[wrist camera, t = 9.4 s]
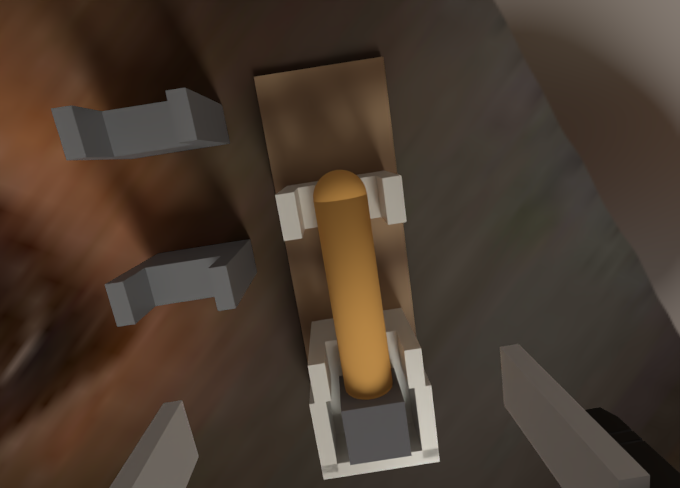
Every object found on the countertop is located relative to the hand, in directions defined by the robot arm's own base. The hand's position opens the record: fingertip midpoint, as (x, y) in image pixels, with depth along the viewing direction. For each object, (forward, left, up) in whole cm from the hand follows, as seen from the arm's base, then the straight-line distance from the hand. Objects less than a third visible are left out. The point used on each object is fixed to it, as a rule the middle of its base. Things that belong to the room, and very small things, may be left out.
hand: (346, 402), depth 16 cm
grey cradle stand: (-8, -11, -19) cm, 23 cm away
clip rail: (-1, +1, -19) cm, 19 cm away
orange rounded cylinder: (+1, +1, -14) cm, 14 cm away
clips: (+3, +1, -18) cm, 18 cm away
